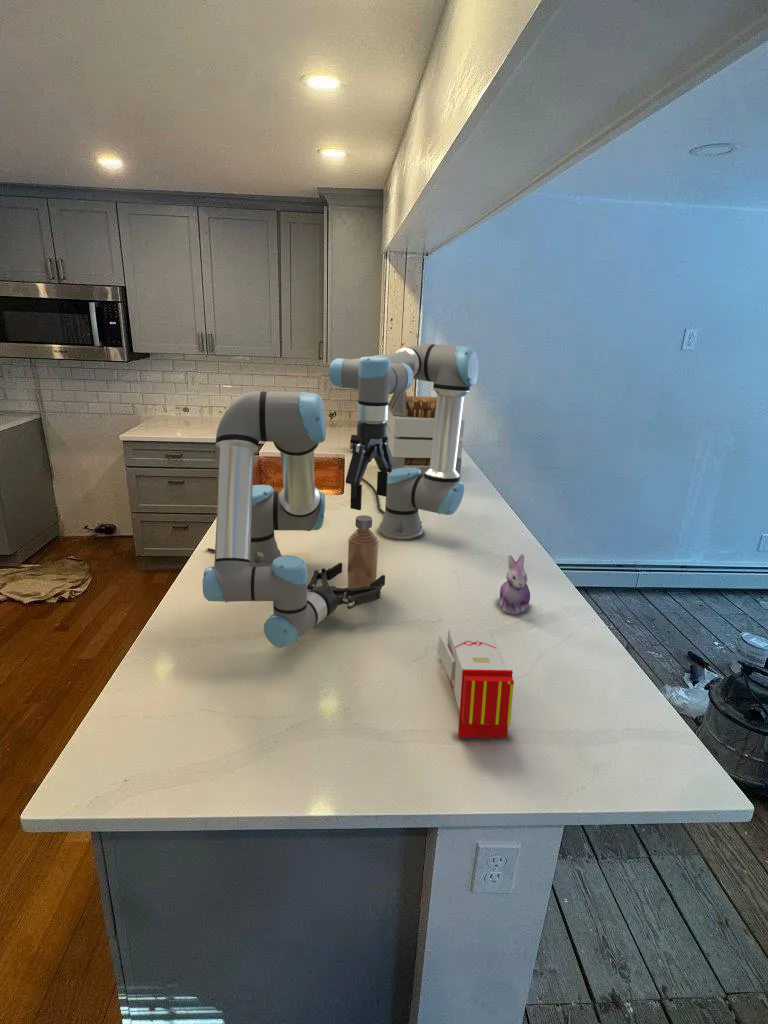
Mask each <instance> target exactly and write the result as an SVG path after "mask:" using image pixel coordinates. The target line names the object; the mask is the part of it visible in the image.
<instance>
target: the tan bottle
mask: <svg viewBox="0 0 768 1024" xmlns="http://www.w3.org/2000/svg"><path fill="white" fill-rule="evenodd" d="M378 554H379V540H378V537H377V536H376V534H375V533H374V532H373V531H372V530H371V528H369V529H359V528H357V529H355V531H354V532H353V533H351V535H350V536H349V537H348V540H347V572H346V573H347V578H346V579H347V580H346V588H349V589H354V588H362V587H369V586H370V584H371V583H373V582H374V581H375V580H377V579H378V560H379V559H378V558H379V555H378Z"/></svg>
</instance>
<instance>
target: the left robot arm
mask: <svg viewBox="0 0 768 1024" xmlns="http://www.w3.org/2000/svg"><path fill="white" fill-rule="evenodd" d="M325 413H326V411H325V406H324V402H323V398H322V397H321V395H320V394H318V393H314V392H306V391H263V390H253V391H249V392H246V393H244V394H242V395H240V396H239V397H238V398H236V399H235V400H234V401H233V402H232V403H231V404H230V405H229V406H228V408H227V409H226V410H225V412H224V413H223V415H222V417H221V419H220V421H219V423H218V426H217V429H216V435H215V449H216V450H217V451H218V452H219V461H218V462H219V465H218V482H217V483H218V485H217V487H218V488H217V502H216V503H217V504H216V523H215V525H216V527H215V545H214V546H215V548H211V547H210V548H209V547H208V548H207V549H206V550H207V551H208V552H212V553H214V565H212V566H207V567H206V568H205V569H204V571H203V578H202V594H203V596H204V598H205V600H207V601H208V602H221V603H222V602H223V603H228V602H229V603H230V602H272V609H273V614H272V615H269V617H268V618H267V619H265V622H264V624H263V633H264V636H265V638H266V639H267V641H268V642H269V643H270V644H271V645H273V646H275V647H277V648H286V647H287V646H290V645H291V644H293V643H294V642H296V641H298V640H299V639H300V638H301V637H303V635H305V634H306V633H307V632H308V631H310V630H311V629H313V628H314V627H315V626H317V625H318V624H319V623H321V622H322V621H324V620H325V619H326V618H328V617H329V616H331V615H332V614H333V613H334V612H335V611H336V610H337V608H338V607H339V606H342V605H346V608H347V609H348V610H352V609H354V608H356V607H358V606H361V605H365V604H369V603H371V602H375V601H378V600H380V599H381V590H382V589H383V587H384V586H385V584H386V575H384V574H382V575H380V576H379V577H377V580H375V581H374V582H373V583H371V584H370V586H369V587H362V588H354V589H349V588H347V587H337V586H335V585H330V583H329V582H330V581H331V580H332V579H334V578H335V577H337V576H339V575H340V574H342V573H343V563H342V562H338V563H337V564H335V565H333V566H332V567H331V568H328V569H326V568H324V567H323V568H321V569H320V571H319V570H317V569H315V570H314V571H313V573H312V575H311V578H310V581H309V583H308V571H307V569H308V567H307V563H306V561H305V560H304V559H303V558H302V557H300V556H297V555H291V554H289V555H288V554H287V555H284V556H282V553H281V550H280V549H279V547H278V543H277V540H276V537H275V531H302V532H303V531H305V532H306V531H307V532H311V531H319V530H321V528H322V527H323V525H324V519H325V509H326V495H325V494H324V492H322V491H319V489H318V488H317V487H316V485H315V484H316V483H315V451H316V449H317V448H318V446H319V445H320V444H321V443H324V442H325V441H326V436H327V433H326V432H327V425H326V417H325ZM259 442H262V443H263V442H266V443H267V442H269V443H273V445H274V447H275V448H276V449H277V450H278V451H279V452H280V463H281V473H282V482H283V488H282V489H281V491H275V489H274V488H273V486H272V485H269V484H254V457H255V454H256V453H257V452H258V451H259V445H260V444H259ZM319 580H320V582H321V585H318V582H319Z"/></svg>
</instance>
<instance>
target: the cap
mask: <svg viewBox="0 0 768 1024" xmlns="http://www.w3.org/2000/svg"><path fill="white" fill-rule="evenodd" d="M355 527H356V528H357V529H358V528H359V529H371V528H372V527H373V517H372V516H370V515H364V514H362V515H357V516H356V517H355Z"/></svg>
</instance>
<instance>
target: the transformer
mask: <svg viewBox="0 0 768 1024" xmlns="http://www.w3.org/2000/svg"><path fill="white" fill-rule="evenodd" d="M407 394H408V393H407V390H405V391H403V392H400V393H394V394H392V395H391V398H390V400H388V420H387V421H385V422H386V423H387V436H386V437H388V445H389V450H390V455H391V460H392V465H393V467H392V468H391V469H392V470H393V469H397V468H405V466H406V467H409V466H411V467H417V466H418V467H430V459H431V449H432V440H433V430H434V420H435V411H436V401H437V396H415V395H414V396H413V395H412V396H411V395H407ZM464 429H465V419H464V418H463V417H462V418H461V427H460V435H459V444H458V453H457V461H456V471H457V473H458V474H459V481H460V482H461V472H462V461H463V460H462V453H463V442H464V441H463V440H462V439H463V438H464V431H465V430H464ZM387 463H388V462H387Z"/></svg>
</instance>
